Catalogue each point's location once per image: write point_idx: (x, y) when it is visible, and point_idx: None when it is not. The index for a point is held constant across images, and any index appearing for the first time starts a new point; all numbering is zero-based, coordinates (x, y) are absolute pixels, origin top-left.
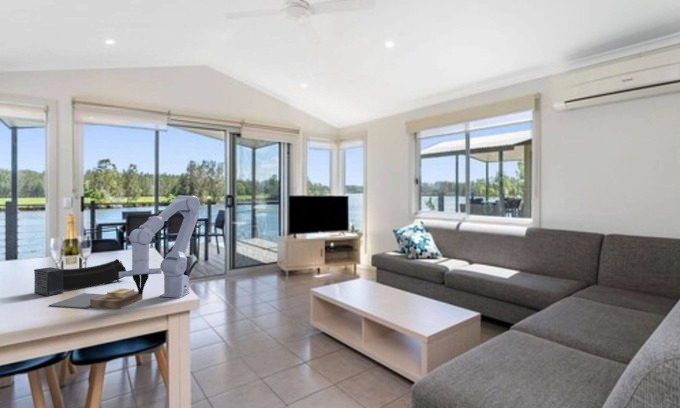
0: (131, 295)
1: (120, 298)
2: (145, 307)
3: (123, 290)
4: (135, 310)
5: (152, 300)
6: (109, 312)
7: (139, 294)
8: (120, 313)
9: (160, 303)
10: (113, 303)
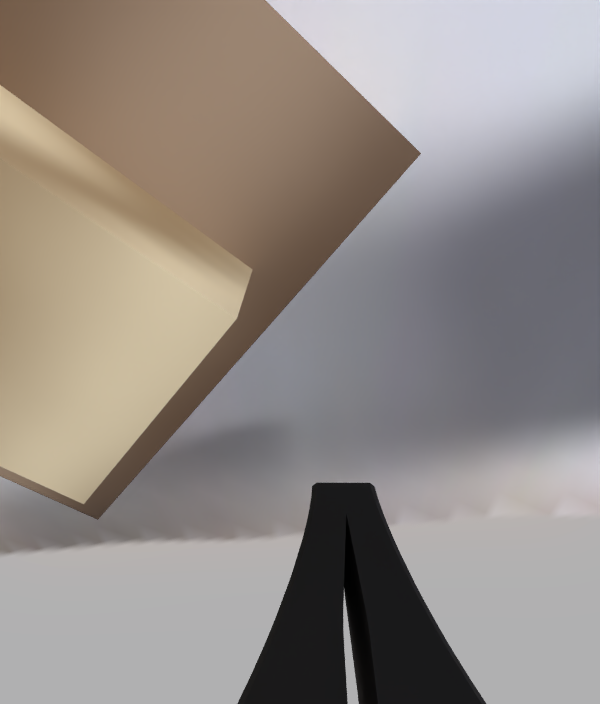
0: None
1: None
2: None
3: (7, 324)
4: (284, 527)
5: (501, 297)
6: None
7: (345, 227)
8: (173, 540)
9: (532, 450)
10: None
